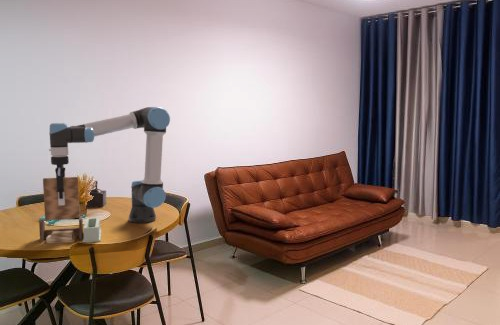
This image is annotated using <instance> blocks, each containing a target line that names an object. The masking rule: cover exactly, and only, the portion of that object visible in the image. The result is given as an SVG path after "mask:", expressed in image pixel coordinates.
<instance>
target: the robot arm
mask: <svg viewBox="0 0 500 325" xmlns="http://www.w3.org/2000/svg"><path fill="white" fill-rule="evenodd" d="M170 122H171V117H170V114H169V112H168V111H167V110H166V109H165V108H164V107H159V106H147V107H143V108H140V109H138V110H134V111H130V112H129V113H128V114H125V115H124V114H123V115H119V116H116V117H111V118H106V119H101V120H96V121H93V122H88V123H83V124H78V125H70V126H68V124H67V123H63V122H62V123H60V122H58V123H57V122H55V123H54V122H52V123H50V125H49V132H48V133H49V144H50V145H49V146H50V148H49V149H48V150H49V152H50V163H51V165H52V166H55V165H56V167H55V169H54V170H55V171H54V172H55V178H56V179H57V191H56V192H58V204H59V206H60V205H65V195H64V184H63V178H64V177H65V176H66V167H64V165H65V166H66V165H68V164H69V160H70V159H69V145H68V144H74V143H75V144H80V143H83V144H84V143H85V144H87V143H93V142H94V140H95V137H99V136H104V135H106V134H112V133H116V132H120V131H125V130H129V129H134V130H137V129H143V132H144V133H145V135H146V138H145V139H146V140H145V142H146V143H145V159H144V160H145V162H144V179H141V180H134V181H132V182H131V186H130V187H131V209H130V212H129V215H128V221H129V222H130V223H135V224H141V223H142V224H145V223H151V221H152V222H154V221H156V220H157V215H156V212H155V209H154V208H159V207H161V205H162V204H164V202H165V200H166V196H167V195H166V191H165V190H164V182H163V180H162V179H161V177H162V176H161V175H162V159H163V157H162V156H163V143H164V142H163V141H164V139H163V138H164V135H166V133H167V127H168V126H169V125H170ZM155 219H156V220H155Z"/></svg>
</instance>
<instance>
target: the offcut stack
mask: <svg viewBox="0 0 500 325" xmlns="http://www.w3.org/2000/svg"><path fill="white" fill-rule="evenodd" d="M73 234H74V231H53V232H52V234H51V235H48V237H47V238H46V244H56V243H57V244H58V243H75V241H76V239H77V236H75V237H74V235H73Z"/></svg>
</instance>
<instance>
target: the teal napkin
mask: <svg viewBox="0 0 500 325" xmlns="http://www.w3.org/2000/svg"><path fill="white" fill-rule="evenodd" d="M82 215H83V216H82V218H85V219H86V215H85V214H82ZM42 218H44V221H45V214H44V215H42V216H40V217H39V219H38V220H39V221H40V220H41V219H42ZM57 221H58V222H60V221H61V219H60V220H51V221H50V220H46V222H48V223H47V224H48V225H49V226H52V225H51V224H53V225H55V224H56V223H55V222H57Z"/></svg>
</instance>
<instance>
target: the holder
mask: <svg viewBox="0 0 500 325" xmlns="http://www.w3.org/2000/svg"><path fill="white" fill-rule="evenodd" d="M100 220H101V219H100V217H92V218H90V217H88V218H85V220H84V224H83V237H82V240H81V242H86V243H97V242H101V241H102V240H101V239H102V228H101V224H100V223H101V221H100Z"/></svg>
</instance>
